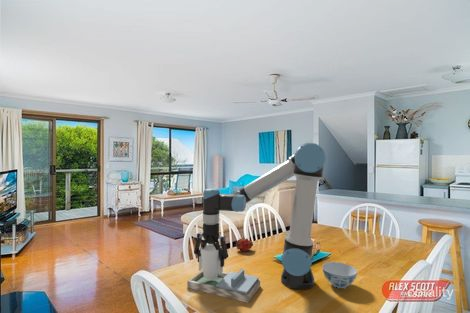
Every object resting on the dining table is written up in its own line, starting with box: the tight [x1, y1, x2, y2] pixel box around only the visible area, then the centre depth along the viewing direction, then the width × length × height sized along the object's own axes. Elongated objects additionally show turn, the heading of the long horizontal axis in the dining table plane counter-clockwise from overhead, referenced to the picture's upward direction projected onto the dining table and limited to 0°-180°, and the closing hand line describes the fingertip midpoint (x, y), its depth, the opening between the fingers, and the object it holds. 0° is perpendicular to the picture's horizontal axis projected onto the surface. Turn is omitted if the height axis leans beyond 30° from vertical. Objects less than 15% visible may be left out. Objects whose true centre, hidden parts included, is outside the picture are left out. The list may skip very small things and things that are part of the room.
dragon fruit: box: [235, 237, 254, 253], centre depth 168 cm, size 8×8×12 cm
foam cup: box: [200, 243, 222, 279], centre depth 125 cm, size 10×9×13 cm
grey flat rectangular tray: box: [186, 269, 261, 304], centre depth 122 cm, size 29×15×3 cm, turn 66°
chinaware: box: [321, 261, 358, 289], centre depth 125 cm, size 15×15×8 cm
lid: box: [216, 268, 260, 294], centre depth 119 cm, size 14×15×4 cm
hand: (210, 271), depth 125 cm, fingers closed on foam cup, 9 cm apart
